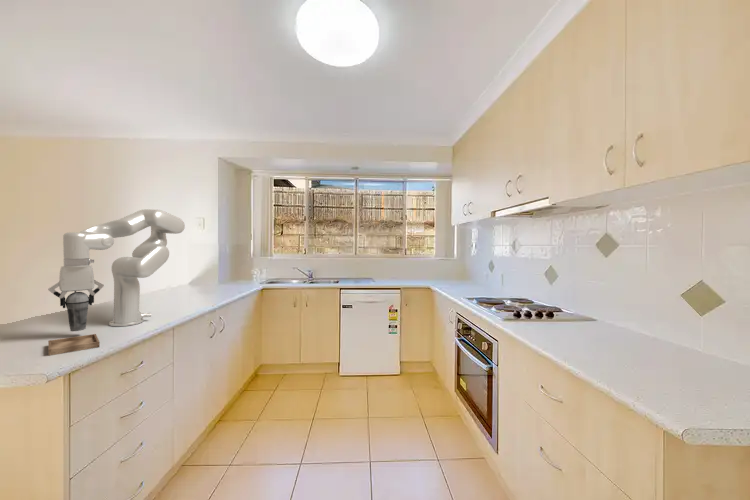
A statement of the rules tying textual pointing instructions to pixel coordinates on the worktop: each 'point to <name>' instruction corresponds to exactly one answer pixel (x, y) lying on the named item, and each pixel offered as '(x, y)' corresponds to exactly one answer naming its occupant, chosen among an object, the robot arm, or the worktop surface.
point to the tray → (72, 344)
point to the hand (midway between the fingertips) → (77, 305)
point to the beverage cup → (77, 310)
